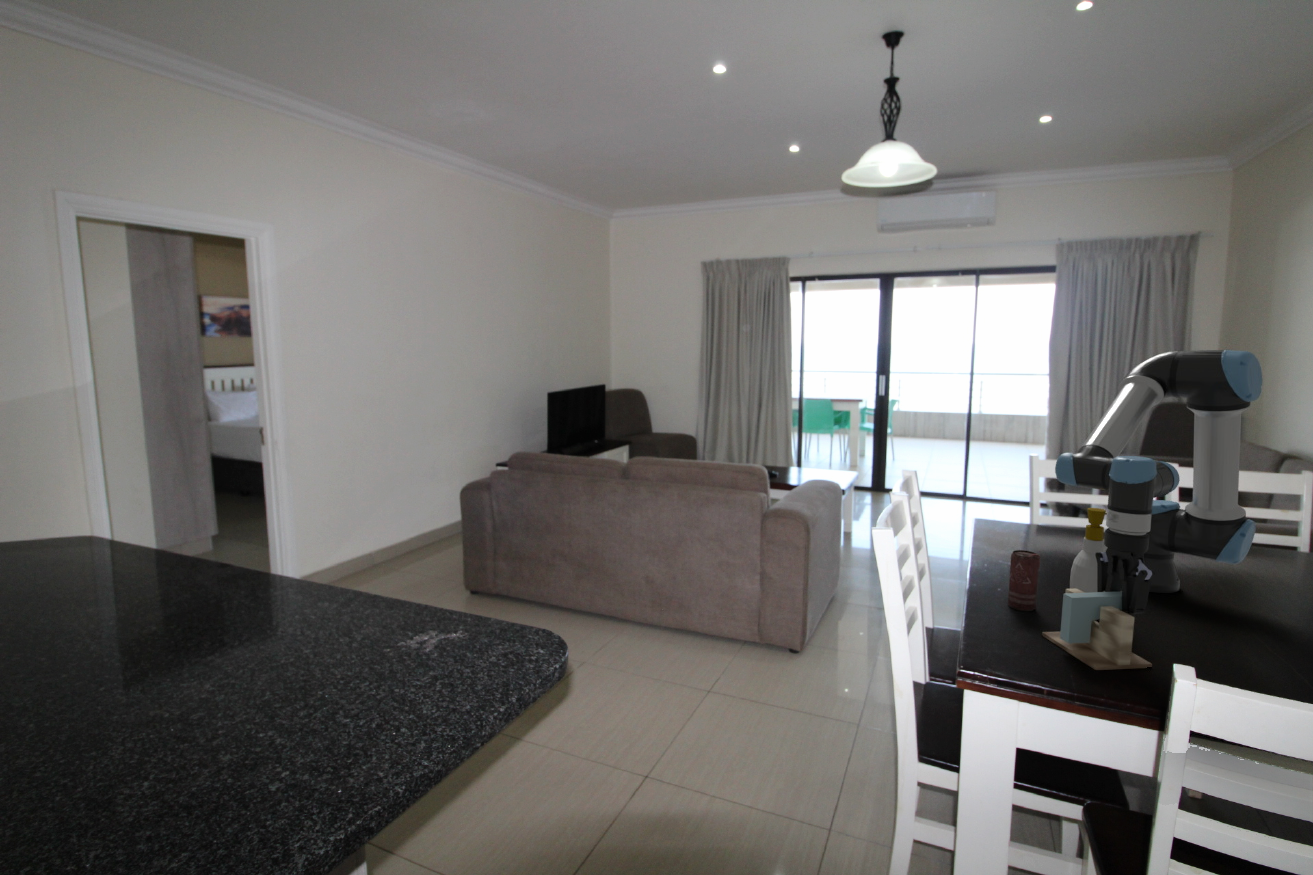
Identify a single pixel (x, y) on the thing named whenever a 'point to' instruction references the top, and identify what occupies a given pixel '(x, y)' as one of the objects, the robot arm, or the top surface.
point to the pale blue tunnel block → (1084, 613)
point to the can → (1023, 580)
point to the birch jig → (1105, 641)
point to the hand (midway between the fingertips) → (1117, 637)
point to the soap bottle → (1089, 554)
